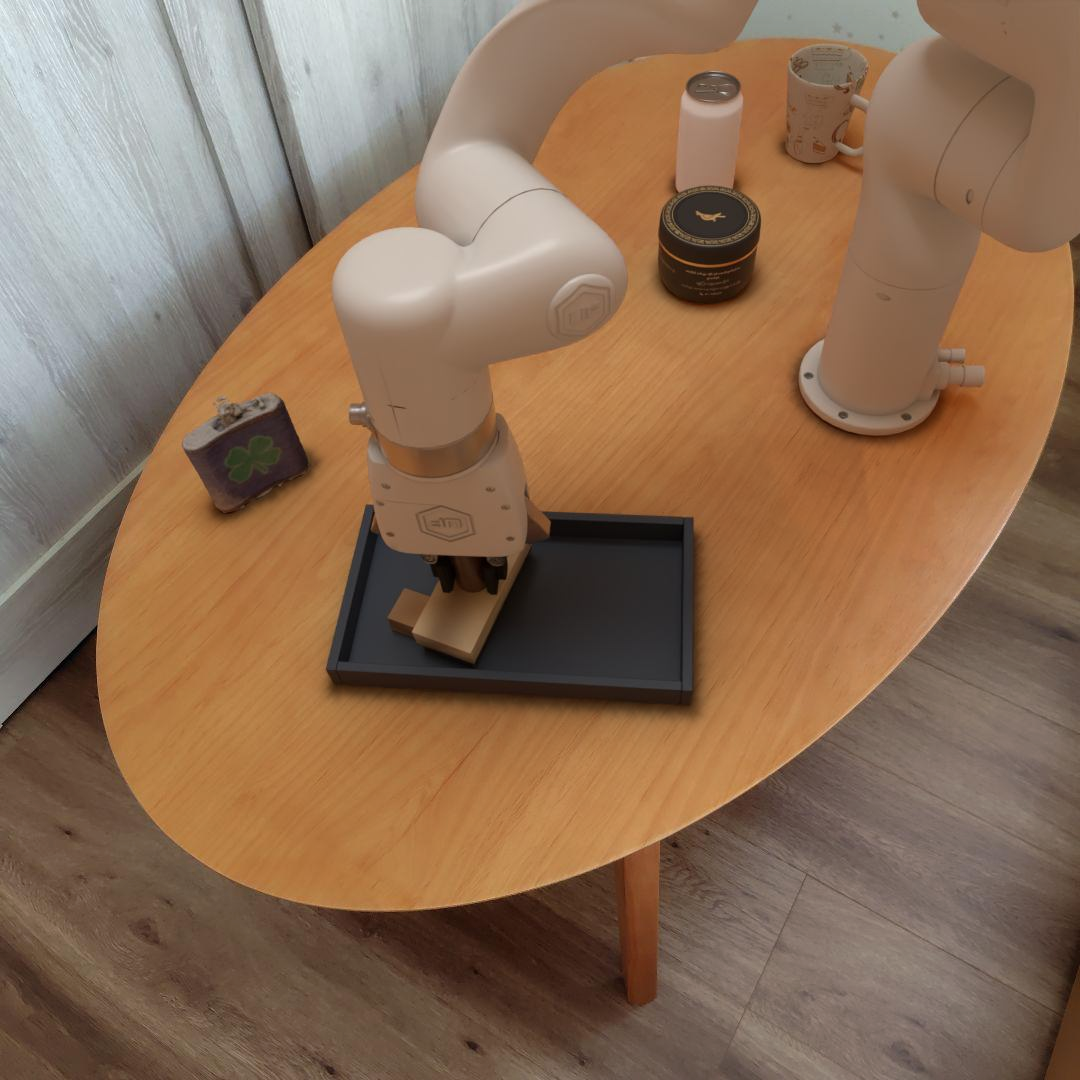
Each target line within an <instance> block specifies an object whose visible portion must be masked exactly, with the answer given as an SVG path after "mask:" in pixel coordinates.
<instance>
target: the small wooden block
mask: <svg viewBox="0 0 1080 1080" xmlns="http://www.w3.org/2000/svg"><path fill="white" fill-rule="evenodd" d="M429 598H430V596H427V595H424V594H421V593H418V592H415V591H412V590H409V589H406V588H404V590H403V591H402V593H401V595H400V597H399V598H398V600H397V602H396V603H395V605H394V607H393V609H392V610H391V612H390V614H389V616H388V617H387V619H388V621H389V624H390V626H391V629H392V630H394V631H396V632H399V633H402V634H405V635H408V636H410V637H413V638H414V636H413V634H412V631H413V629H414V627H415V625H416V623H417V621H418V619H419V617H420V615H421V613H422V612H423V610H424V608H425V606H426V604H427V602H428V600H429Z"/></svg>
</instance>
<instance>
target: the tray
mask: <svg viewBox="0 0 1080 1080" xmlns="http://www.w3.org/2000/svg"><path fill="white" fill-rule="evenodd" d="M540 511H541V512H542V513H543V514H544V515H545V516H546V517H547V518H548V519H549V520H550V522H551V528H550V538H549V539H547V540H544V541H540V542H536V543H533V544H532V545H531V546H532V550H531V552H530V554H529V556H528V558H527V560H526V562H525V564H524V566H523V568H522V570H521V572H520V574H519V576H518V579H517V581H516V583H515V585H514V587H513V589H512V591H511V593H510V595H509V597H508V599H507V601H506V603H505V605H504V607H503V610H502V612H501V614H500V616H499V618H498V620H497V622H496V624H495V626H494V628H493V630H492V632H491V634H490V636H489V639H488V641H487V643H486V645H485V647H484V649H483V651H482V653H481V655H480V657H479V659H478V661H477V663H476V665H475V667H474V668H472V667H469V666H467V665H464V664H461V663H459V662H456V661H453V660H450V659H448V658H445V657H442V656H440V655H437V654H434V653H432V652H429V651H426V650H424V647H423V645H421V644H418V643H416V641H415V638H413V637H410V636H408V635H405V634H402V633H399V632H396V631H394V630H392V629H391V626H390V624H389V621H388V619H387V617H388V616H389V614H390V612H391V610H392V609H393V607H394V605H395V603H396V602H397V600H398V598H399V597H400V595H401V593H402V591H403V590H404V588H406V589H409V590H412V591H415V592H418V593H421V594H424V595H427V596H431V595H432V593H433V591H434V589H435V587H436V585H437V583H438V581H439V577H434V576H433V573H432V569H431V566H430V564H429V563H425V562H423V561H422V559H421V554H412V553H404V552H399V551H396V550H394V549H392V548H390V547H389V546H388V545H387V544H386V543H385V542H384V540H383V538H382V536H381V535H378V534H375V533H373V532H372V531H371V526H372V522H373V517H374V514H375V510H374V506H373V503H371V504H370V503H369V504H368V503H366V504H365V506H364V510H363V514H362V519H361V523H360V527H359V530H358V536H357V539H356V543H355V547H354V550H353V556H352V559H351V564H350V567H349V572H348V576H347V580H346V584H345V588H344V591H343V592H344V593H343V596H342V601H341V605H340V610H339V613H338V617H337V621H336V625H335V629H334V633H333V638H332V642H331V645H330V650H329V654H328V658H327V662H326V667H325V671H326V673H327V675H328V677H329V678H330V680H331V682H332V684H333V685H341V686H343V685H344V686H358V687H373V688H390V689H391V688H393V689H407V690H408V689H409V690H423V691H424V690H425V691H439V692H440V691H441V692H456V693H457V692H458V693H459V692H460V693H472V694H473V693H474V694H475V693H476V694H490V695H491V694H492V695H506V696H508V695H510V696H525V697H538V698H540V697H542V698H557V699H571V700H572V699H574V700H575V699H576V700H588V701H589V700H591V701H592V700H593V701H607V702H621V703H622V702H624V703H625V702H626V703H641V704H655V705H656V704H659V705H674V706H689V707H690V706H691V705H692V699H693V693H694V555H695V553H694V551H695V550H694V541H695V540H694V538H695V535H694V534H695V533H694V532H695V530H694V529H695V525H694V523H695V518H694V517H693V516H675V515H674V516H673V515H672V516H671V515H650V514H649V515H647V514H642V515H641V514H624V513H623V514H621V513H620V514H619V513H600V512H599V513H595V512H574V511H573V512H571V511H549V510H547V511H546V510H545V511H544V510H540Z"/></svg>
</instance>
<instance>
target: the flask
mask: <svg viewBox="0 0 1080 1080" xmlns="http://www.w3.org/2000/svg"><path fill="white" fill-rule="evenodd" d="M224 400H225V401H224ZM222 401H223V402H222ZM216 402H219V403H218V404H217V405H216ZM216 402H215V401H213V402H212V406H215V405H216V411H217V414H216V415H215V416H212V417H211V418H209V419H207V420H206V421H205V422H203V423H202V424H200V425H199V426H196V428H194V429H192V430H191V431H190V432H189V433H187V434H186V435H185V436H184V437H183V439H182V442H181V447H182V449H183V452H184V454H185V455H186V457H187V458H188V460H189V461H190V463H191V465H192V466H193V468H194V470H195V472H196V473H197V475H198V476H199V479H200V480H201V482H202V484H203V486H204V488H205V490H206V491H207V492H208V494H209V496H210V498H211V499H212V501H213V503H214V505H215V507H216V509H218V510H219V511H221V512H222V513H223V514H226V513H231V512H236V511H238V510H240V509H243V508H245V507H246V504H249V503H250V502H252V501H255V500H256V499H260V498H262V497H265V496H266V495H267V494H269V493H270V492H271V491H272V490H273V488H275V487H277V486H278V487H281V486H282V485H283V484H284V483H285V482H286V481H292V480H293V479H295V478H296V477H299V476H301V475H304V474H305V473H306V472H307V470H308V468H309V466H310V465H311V463H309V462H308V461H309V459H308V456H307V453H306V451H305V449H304V446H303V443H302V441H301V439H300V437H299V435H298V432H297V430H296V428H295V425H294V423H293V420H292V418H291V416H290V413H289V411H288V409H287V406H286V403H285V401H284V400H283V399H282V398H281V397H280V396H279V395H277V394H275V393H272V392H269V393H264V394H261V395H258V396H256V397H253V398H251V399H247V400H245V401H242V402H240V403H238V402H231V403H229V402H230V400H227V396H226V395H223V396H219V397H217V398H216Z"/></svg>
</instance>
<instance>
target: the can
mask: <svg viewBox="0 0 1080 1080" xmlns="http://www.w3.org/2000/svg"><path fill="white" fill-rule="evenodd" d="M741 89H742V83H741V81H740V80H739V78H737V77H736V76H735V75H733V74H731V73H729V72H727V71H720V70H706V71H702V72H698V73H695V74H694V75H692V76H691V77H690V78H688V80H687V81H686V83H685V89H684V91H683V93H682V95H681V98H680V105H679V119H678V120H679V121H678V123H679V124H678V132H677V133H678V137H677V148H676V149H677V151H676V168H675V188H676V191H677V193H679V192H681V191H684V190H686V189H689V188H693V187H698V186H722V187H727V188H731V189H733V188H734V181H735V174H736V167H737V158H738V152H739V151H738V150H739V143H740V135H741V127H742V117H743V108H744V97H743V93H742V91H741Z"/></svg>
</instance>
